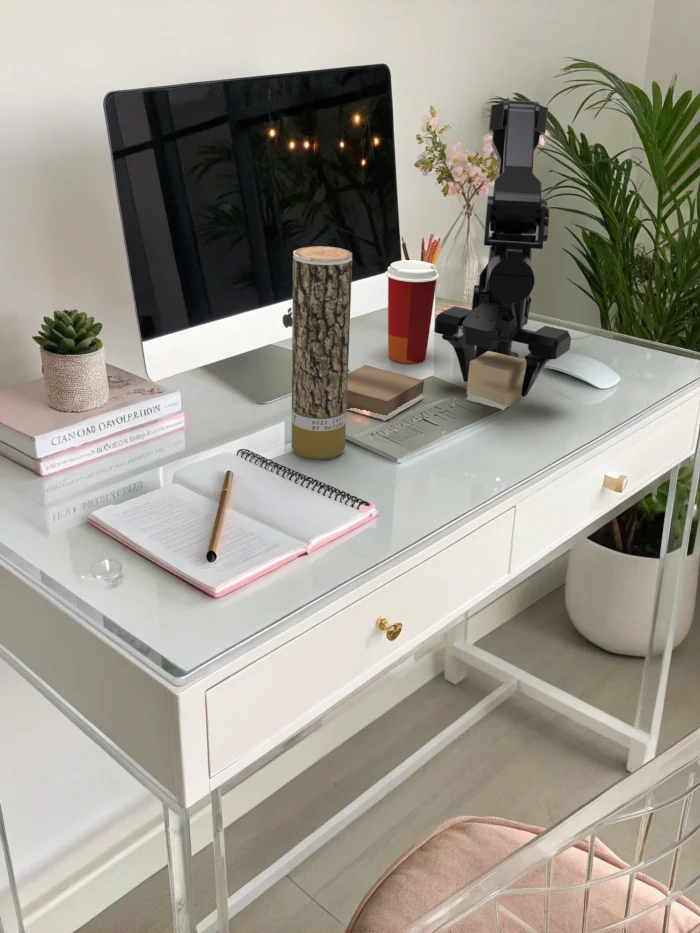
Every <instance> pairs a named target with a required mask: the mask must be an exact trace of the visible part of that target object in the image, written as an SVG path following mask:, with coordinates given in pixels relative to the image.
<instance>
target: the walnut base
mask: <svg viewBox="0 0 700 933" xmlns="http://www.w3.org/2000/svg"><path fill="white" fill-rule="evenodd" d="M424 383H425V381H424V379H421V378H420V379H419V378H415V377H412V376H409V375H405V374H401V373H397V372H394V371H390V370H386V369H383V368H378V367H374V366H371V365H366V364H364V365H363V366H360V367H358V368H356V369H354V370H352V371H350V372H348V385H347V409H350V408H357V409H360V410H366V411H370V412H373V413H378V414H382V415H386V416H387V415H388V414H389V413H391V412H392V411H394V410H396V409H397V408H398V407H400V406H402V405H403V404H405V403H407V402H409V401H410V400H412V399H414V398H416V397H417V396H419V395H420V394H422V393H423V394H424Z"/></svg>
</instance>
